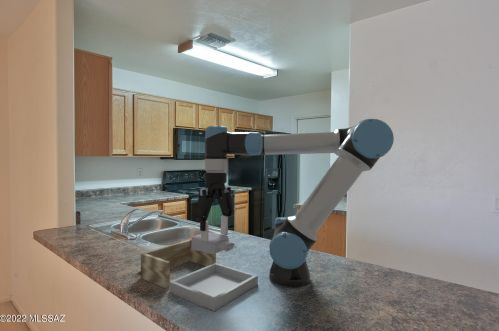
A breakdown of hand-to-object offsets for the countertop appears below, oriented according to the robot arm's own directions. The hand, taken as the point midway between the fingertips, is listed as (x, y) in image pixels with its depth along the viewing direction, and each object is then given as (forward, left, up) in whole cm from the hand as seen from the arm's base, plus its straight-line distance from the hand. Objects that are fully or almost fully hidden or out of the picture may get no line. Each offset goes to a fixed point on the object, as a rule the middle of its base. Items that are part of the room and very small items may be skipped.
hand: (214, 237), depth 99 cm
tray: (0, 0, -18) cm, 18 cm away
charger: (-1, 0, -5) cm, 5 cm away
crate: (+20, -2, -18) cm, 27 cm away
